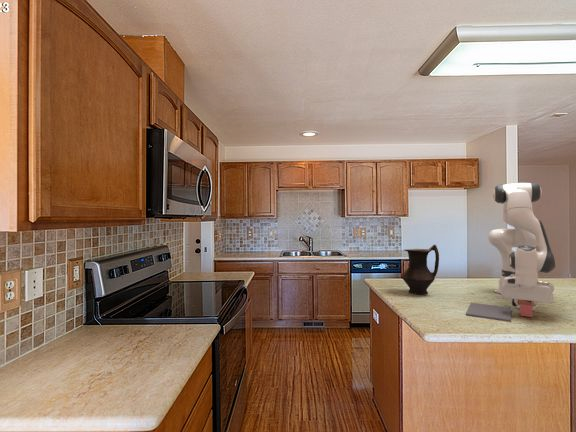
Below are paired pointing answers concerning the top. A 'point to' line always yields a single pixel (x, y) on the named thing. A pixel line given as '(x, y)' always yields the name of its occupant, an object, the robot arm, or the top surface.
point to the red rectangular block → (526, 309)
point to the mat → (489, 311)
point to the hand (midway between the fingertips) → (526, 309)
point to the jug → (420, 270)
